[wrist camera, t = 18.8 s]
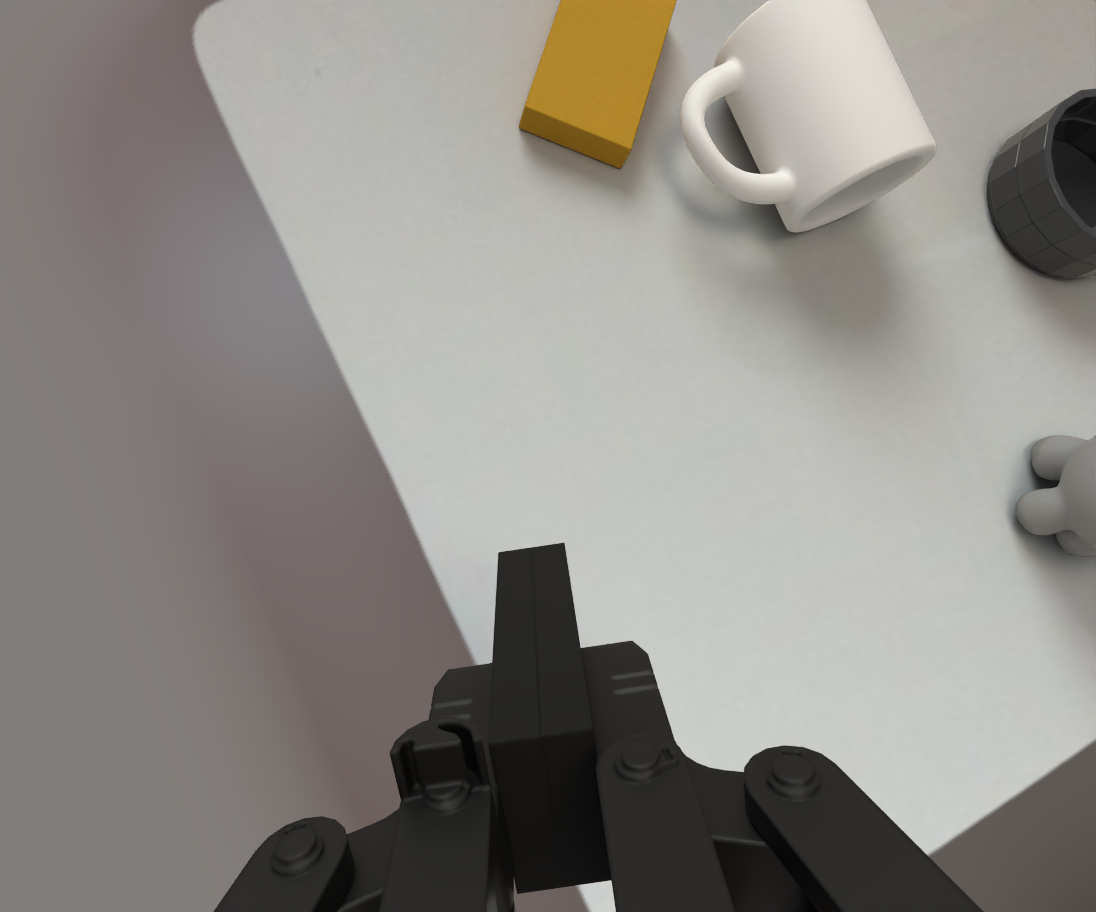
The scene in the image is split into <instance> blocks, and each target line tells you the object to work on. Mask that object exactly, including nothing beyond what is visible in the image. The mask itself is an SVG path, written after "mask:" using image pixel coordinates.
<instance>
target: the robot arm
mask: <svg viewBox="0 0 1096 912" xmlns="http://www.w3.org/2000/svg"><path fill="white" fill-rule="evenodd" d="M431 708H432V709H431V711H430V715H429V720H428V721H424V722H421V723H420V724H418V725H416V726H414V727H412V728H410V729H408V730H407V731H406V732H405V733H404V734H403V735H401V737H399V738H398V739H397V740H396V741H395V743H394V745H393V747H392V750H391V751H390V757H391V761H392V765H393V769H394V773H395V777H396V782H397V785H398V789H399V794H400V798H401V803H400V808H399V809H398V810H396V811H395V812H394V813H392V814H391V815H389V816H388V817H387V818H384V819H382V820H380V821H378V822H376V823H374V824H372V825H370V826H367V827H364V828H362V829H359V830H357V831H355V832H352V833H349V834H346V831H345V828H344V827H343V826H342V825H341V824H340V823H339V822H337V821H336V820H334V819H330V818H326V817H313V818H304V819H302V820H299V821H296V822H294V823H291V824H289V825H286V826H284V827H283V828H281V829H280V830H278V831H277V832H275V833H274V834H273V835H271V836H269V837H268V838H267V840H265V841H264V842H263V844H262V845H261V846H260V847H259V848H258V849H257V850H256V851H255V853H254V854H253V855H252V857H251V858H250V860H249V861H248V863H247V864H246V866H245V867H244V869H243V870H242V871H241V873H240V874H239V876H238V877H237V879H236V880H235V881H234V883H233V884H232V886H231V887H230V889H229V890H228V892H227V893H226V894H225V896H224V897H223V899H222V900H221V902H220V903H219V905H218V906H217V908H216V909H215V910H214V912H516V909H515V904H514V899H513V898H514V895H513V893H514V883H513V882H514V880H515V885H516V890H517V894H519V893H526V892H533V891H540V890H547V889H554V888H561V887H568V886H574V885H581V884H588V883H595V882H602V881H609V880H612V886H613V893H614V900H615V907H616V912H983V911H982V910H981V909H980V908H979V907H978V906H977V905H976V904H975V903H974V902H973V901H972V900H971V899H970V898H969V897H968V896H967V895H966V894H965V893H964V892H963V891H962V890H961V889H960V888H959V887H958V886H957V885H956V884H955V883H954V882H953V881H952V880H951V879H950V878H949V877H948V876H947V875H946V874H945V873H944V872H943V871H942V870H941V869H940V868H939V867H938V866H937V865H936V864H935V863H934V862H933V861H932V860H931V859H930V858H929V857H928V856H927V855H926V854H925V853H924V852H923V851H922V850H921V849H920V848H919V847H918V846H917V845H916V844H915V843H914V842H913V841H912V840H911V839H910V838H909V837H908V836H907V835H906V834H905V833H904V832H903V831H902V830H901V829H900V828H899V827H898V826H897V825H896V824H895V823H894V822H893V821H892V820H891V819H890V818H889V817H888V816H887V815H886V814H885V813H884V812H883V811H882V810H881V809H880V808H879V807H878V806H877V805H876V804H875V803H874V802H873V801H872V800H871V799H870V798H869V797H868V796H867V795H866V794H865V793H864V792H863V791H862V790H861V789H860V788H859V787H858V786H857V785H856V784H855V783H854V782H853V781H852V780H851V779H850V778H849V777H848V776H847V775H846V774H845V773H844V772H843V771H842V770H841V769H840V768H839V767H838V766H837V765H836V764H835V763H834V762H832V761H831V760H830V759H828V758H827V757H825V756H824V755H822V754H821V753H818V752H815V751H813V750H810V749H807V748H804V747H795V746H779V747H773V748H767V749H765V750H763V751H761V752H759V753H758V754H756V755H754V756H753V757H752V758H751V759H750V760H749V762H748V763H747V764H746V766H745V768H744V772H736V771H726V770H720V769H714V768H709V767H707V766H704V765H701V764H699V763H696V762H695V761H693V760H691V759H690V758H688V757H687V756H686V755H685V754H684V753H683V752H682V750H681V749H680V747H679V746H677V744H676V742H675V740H674V737H673V734H672V730H671V727H670V724H669V721H668V718H667V714H666V711H665V708H664V705H663V701H662V698H661V695H660V692H659V689H658V686H657V682H656V679H655V676H654V674H653V669H652V666H651V663H650V660H649V656H648V654H647V653H646V652H645V651H644V650H643V649H641V648H640V647H639V646H638V645H637V644H636V643H634V642H633V641H626V642H620V643H613V644H606V645H599V646H592V647H586V648H580V642H579V635H578V629H577V622H576V616H575V609H574V603H573V596H572V590H571V583H570V577H569V570H568V564H567V557H566V551H565V544H564V543H559V544H553V545H546V546H539V547H532V548H525V549H519V550H512V551H505V552H499V553H498V571H497V589H496V607H495V625H494V643H493V661H492V663H490V664H483V665H476V666H470V667H463V668H457V669H449V670H448V671H447V672H446V673H445V674H444V676H443V677H442V678H441V680H440V681H439V682H438V683H437V685H436V686H435V687H434V693H433V699H432V704H431Z"/></svg>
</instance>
